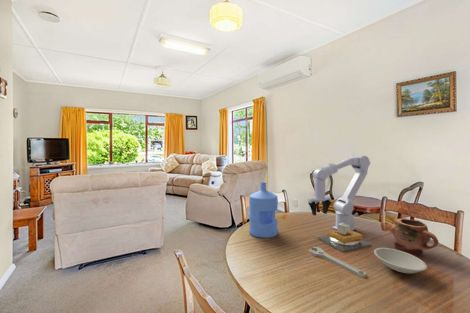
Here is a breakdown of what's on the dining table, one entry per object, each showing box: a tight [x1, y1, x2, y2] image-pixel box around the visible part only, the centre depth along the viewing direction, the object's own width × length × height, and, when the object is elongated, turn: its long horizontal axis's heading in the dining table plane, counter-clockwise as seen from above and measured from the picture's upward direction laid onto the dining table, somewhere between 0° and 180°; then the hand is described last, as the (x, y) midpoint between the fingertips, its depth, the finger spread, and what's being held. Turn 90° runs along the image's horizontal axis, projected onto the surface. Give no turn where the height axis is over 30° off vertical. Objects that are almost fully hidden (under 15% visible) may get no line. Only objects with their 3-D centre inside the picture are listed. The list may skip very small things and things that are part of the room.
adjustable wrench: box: [308, 246, 367, 278], centre depth 94 cm, size 25×6×2 cm, turn 26°
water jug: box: [248, 181, 279, 239], centre depth 125 cm, size 16×16×28 cm
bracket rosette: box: [317, 229, 372, 253], centre depth 113 cm, size 18×16×4 cm
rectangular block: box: [338, 223, 350, 236], centre depth 113 cm, size 4×4×7 cm
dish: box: [373, 247, 428, 274], centre depth 87 cm, size 18×14×5 cm
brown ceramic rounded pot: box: [389, 218, 439, 257], centre depth 101 cm, size 20×12×14 cm, turn 20°
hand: (319, 214), depth 128 cm, fingers open, 7 cm apart
